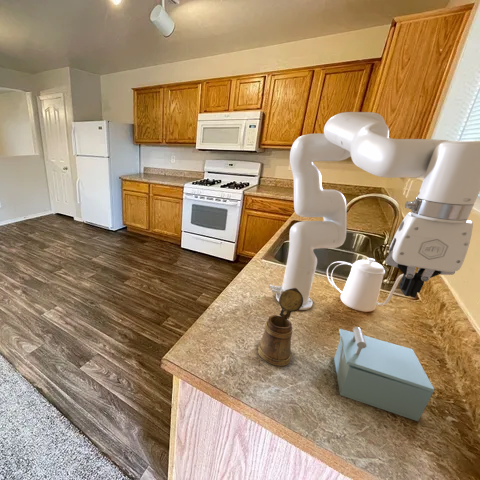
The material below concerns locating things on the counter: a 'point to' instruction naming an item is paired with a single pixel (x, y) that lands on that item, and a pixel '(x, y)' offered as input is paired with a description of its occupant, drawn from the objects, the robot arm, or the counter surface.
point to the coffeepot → (363, 285)
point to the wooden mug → (280, 330)
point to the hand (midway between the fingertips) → (407, 293)
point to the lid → (383, 358)
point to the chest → (379, 389)
